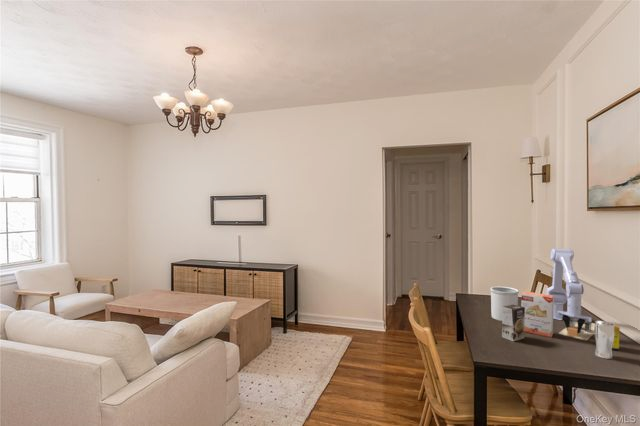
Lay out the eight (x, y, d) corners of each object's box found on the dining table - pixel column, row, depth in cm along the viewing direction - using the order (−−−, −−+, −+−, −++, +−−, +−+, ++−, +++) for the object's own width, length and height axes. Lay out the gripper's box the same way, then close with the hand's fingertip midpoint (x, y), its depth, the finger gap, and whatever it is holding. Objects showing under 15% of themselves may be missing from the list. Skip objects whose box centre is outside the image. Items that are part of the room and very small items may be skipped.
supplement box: (619, 350, 157) (620, 327, 157) (604, 349, 159) (605, 326, 158) (611, 345, 163) (611, 322, 163) (597, 344, 164) (597, 321, 164)
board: (558, 333, 177) (558, 333, 177) (576, 320, 199) (576, 319, 199) (586, 340, 168) (586, 340, 168) (602, 325, 189) (602, 325, 189)
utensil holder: (491, 320, 197) (491, 290, 197) (488, 312, 211) (489, 285, 211) (520, 323, 192) (520, 293, 191) (515, 315, 206) (516, 287, 205)
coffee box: (513, 342, 166) (514, 309, 166) (501, 337, 172) (502, 306, 172) (524, 338, 171) (525, 307, 170) (512, 334, 176) (513, 303, 176)
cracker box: (520, 331, 180) (521, 292, 180) (522, 328, 185) (523, 290, 185) (551, 338, 171) (552, 297, 171) (553, 334, 176) (554, 295, 175)
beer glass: (589, 352, 154) (590, 320, 154) (603, 352, 155) (604, 320, 155) (603, 359, 148) (604, 326, 147) (618, 359, 148) (619, 325, 148)
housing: (568, 327, 185) (568, 319, 185) (570, 326, 188) (571, 317, 188) (589, 332, 178) (589, 323, 178) (591, 330, 181) (591, 321, 181)
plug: (573, 329, 183) (573, 323, 183) (582, 331, 180) (583, 325, 180) (567, 334, 176) (567, 327, 176) (576, 336, 173) (576, 330, 173)
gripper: (555, 303, 179) (554, 329, 179) (589, 310, 167) (588, 337, 168) (559, 301, 183) (559, 326, 184) (593, 308, 172) (592, 334, 172)
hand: (573, 331), depth 176 cm, fingers closed on plug, 4 cm apart
